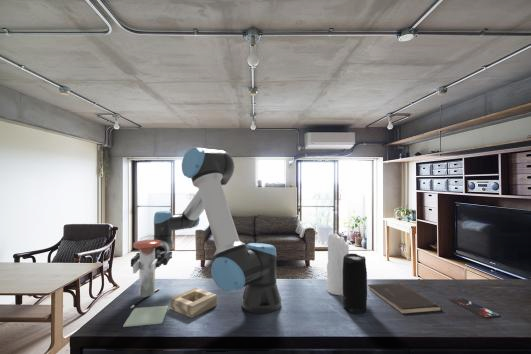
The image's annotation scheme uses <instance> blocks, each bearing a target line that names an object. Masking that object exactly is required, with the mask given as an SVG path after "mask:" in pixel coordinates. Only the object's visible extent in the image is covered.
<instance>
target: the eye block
mask: <svg viewBox="0 0 531 354" xmlns="http://www.w3.org/2000/svg"><path fill="white" fill-rule="evenodd" d="M217 297H218V295H217V294H215V293H213V292H210V291H207V290H204V289H201V288H197V287H194V288H192V289H189V290H187V291H184V292H182V293H180V294H177V295H175V296H173V297H171V298H170V310H172V311H174V312H176V313H180V314H181V315H183V316H186V317H189V318H191V319H194V318H195V317H196V316H198V315H200V314H203V313H204V312H206V311H208V310H210V309H212V308H214V307H216V306H217V305H218V304H217V303H218V299H217Z"/></svg>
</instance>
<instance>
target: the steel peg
mask: <svg viewBox="0 0 531 354" xmlns="http://www.w3.org/2000/svg"><path fill="white" fill-rule="evenodd" d="M159 246H161V241H160V240H154V239H145V240H143V239H142V240H138V241H134V242H133V248H134V249H137V250H139V253H140V269H139V270H138V271H139V274H138V275H139V277H138V278H139V285H138V286H139V291H138V296H139V297H141V298H145V297H148V296H150V297H151V296H153V295H154V294H156V293H155V290H156V289H155V288H156V286H155V285H156V284H155V283H156V282H155V281H156V280H155V279H156V278H155V277H156V273H155V272H156V270H155V271H154V272H151V264H152V263H153V261H154V260H155V247H159ZM148 298H149V297H148Z"/></svg>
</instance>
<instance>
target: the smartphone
mask: <svg viewBox="0 0 531 354" xmlns="http://www.w3.org/2000/svg"><path fill="white" fill-rule="evenodd" d="M448 301H449V302H451V303H453V304H454V305H457V306H459V307H461V308H463V309H465V310H466V311H469V312H471V313H472V314H475V315H477V316H478V317H481V318H482V319H491V318H493V319H494V318H500V317H501V315H500V314H499V313H497V312H495V311H492V310H490V309H488V308H486V307H485V306H481V305H479V304H477V303H475V302H473V301H470V300H468V299H466V298H463V297H460V298H450V299H449V298H448Z"/></svg>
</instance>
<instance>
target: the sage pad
mask: <svg viewBox="0 0 531 354" xmlns="http://www.w3.org/2000/svg"><path fill="white" fill-rule="evenodd" d="M168 309H169V305H161V306H160V305H157V306H148V307H147V306H145V307H135V308H134V307H133V310H132V311H131V312H130V314H129V316H128V318H127V319H125V322H124V324H123V328H125V327H135V326H136V327H137V326H138V327H139V326H146V325H149V326H150V325H158V324H160V325H161V324H163V322H164V319H165V317H166V315H167V311H168Z"/></svg>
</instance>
